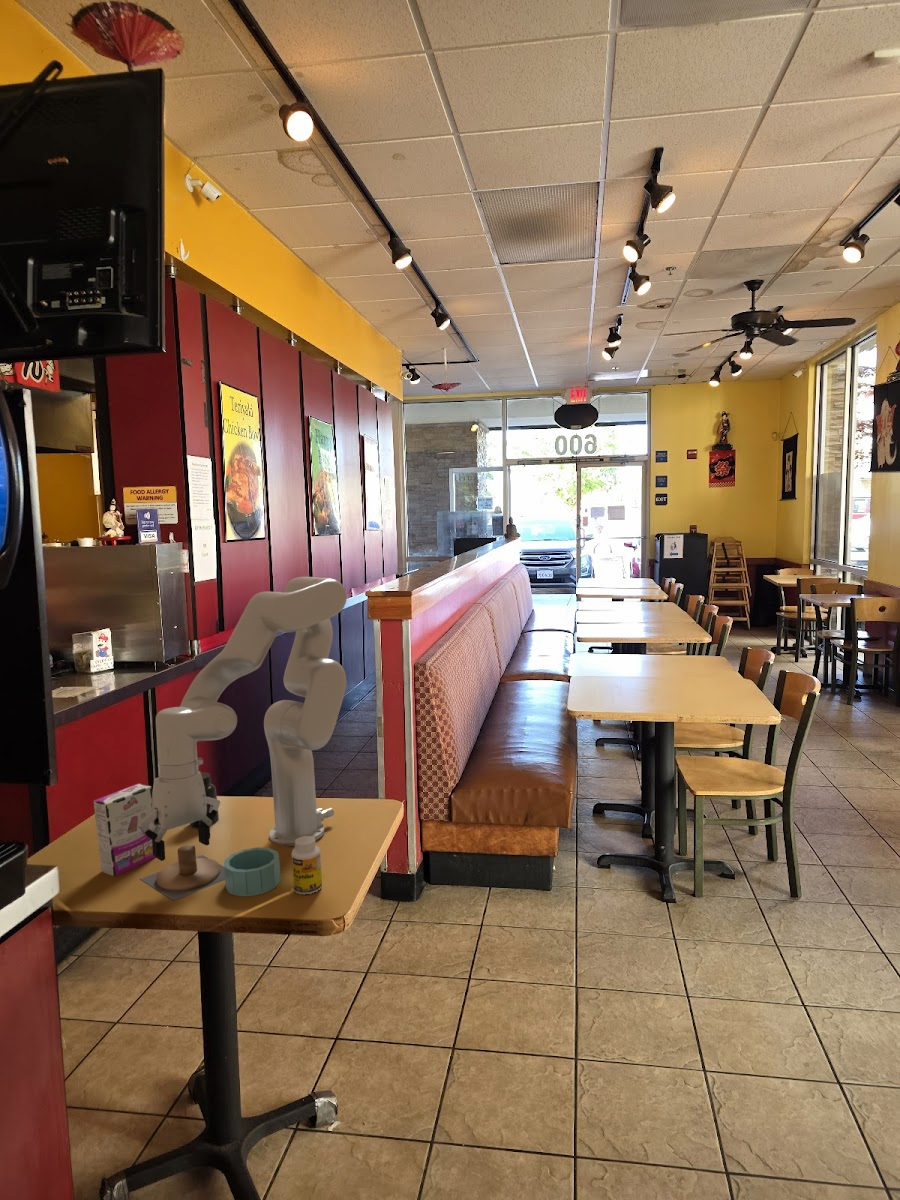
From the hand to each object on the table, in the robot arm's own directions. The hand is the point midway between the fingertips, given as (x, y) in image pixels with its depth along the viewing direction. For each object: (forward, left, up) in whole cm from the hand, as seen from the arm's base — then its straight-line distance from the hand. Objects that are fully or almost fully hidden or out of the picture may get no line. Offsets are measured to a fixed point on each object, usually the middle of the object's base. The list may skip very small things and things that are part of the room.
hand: (182, 850), depth 159 cm
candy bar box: (+4, -16, -7) cm, 18 cm away
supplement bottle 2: (-14, +23, -7) cm, 28 cm away
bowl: (-8, +13, -6) cm, 17 cm away
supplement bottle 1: (-18, -24, -7) cm, 31 cm away
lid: (-1, 0, -6) cm, 6 cm away
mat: (-1, 0, -6) cm, 6 cm away
